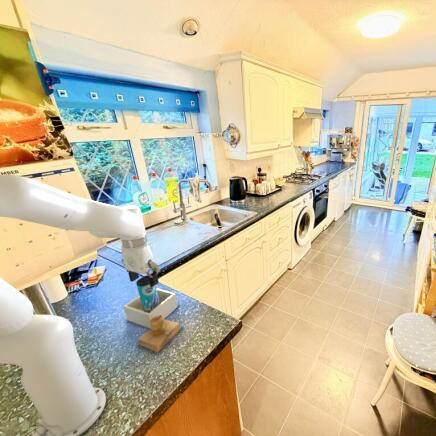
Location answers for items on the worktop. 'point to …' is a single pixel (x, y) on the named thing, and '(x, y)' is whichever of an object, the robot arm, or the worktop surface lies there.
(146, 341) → the flat wooden block
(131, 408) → the worktop surface
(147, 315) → the white open box
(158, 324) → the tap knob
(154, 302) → the beverage can
